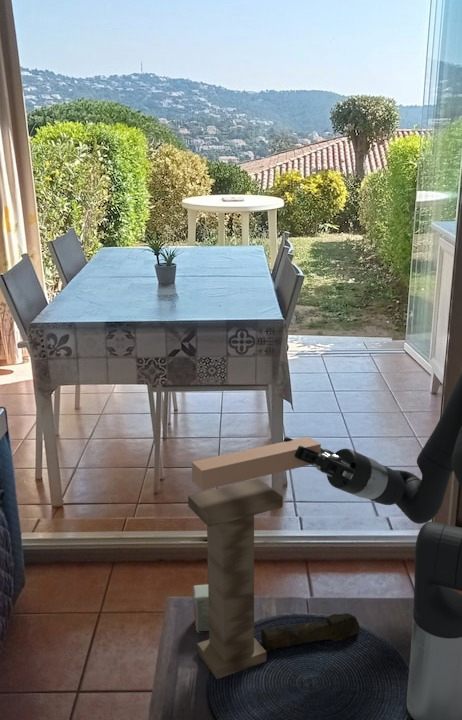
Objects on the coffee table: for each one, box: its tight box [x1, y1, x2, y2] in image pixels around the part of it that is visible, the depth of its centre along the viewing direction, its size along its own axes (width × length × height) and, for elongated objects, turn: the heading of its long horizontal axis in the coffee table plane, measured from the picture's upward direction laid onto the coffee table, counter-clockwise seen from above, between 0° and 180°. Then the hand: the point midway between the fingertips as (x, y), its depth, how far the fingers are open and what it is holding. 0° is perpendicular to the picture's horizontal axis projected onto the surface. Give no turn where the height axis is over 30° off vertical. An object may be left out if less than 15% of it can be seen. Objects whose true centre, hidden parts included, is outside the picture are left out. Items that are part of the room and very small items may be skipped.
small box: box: [193, 583, 209, 632], centre depth 141 cm, size 5×4×8 cm
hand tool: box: [260, 612, 360, 653], centre depth 136 cm, size 19×4×5 cm, turn 101°
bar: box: [191, 436, 322, 492], centre depth 125 cm, size 23×4×4 cm, turn 118°
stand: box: [187, 478, 284, 680], centre depth 129 cm, size 14×8×32 cm, turn 118°
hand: (291, 447), depth 127 cm, fingers closed on bar, 4 cm apart
